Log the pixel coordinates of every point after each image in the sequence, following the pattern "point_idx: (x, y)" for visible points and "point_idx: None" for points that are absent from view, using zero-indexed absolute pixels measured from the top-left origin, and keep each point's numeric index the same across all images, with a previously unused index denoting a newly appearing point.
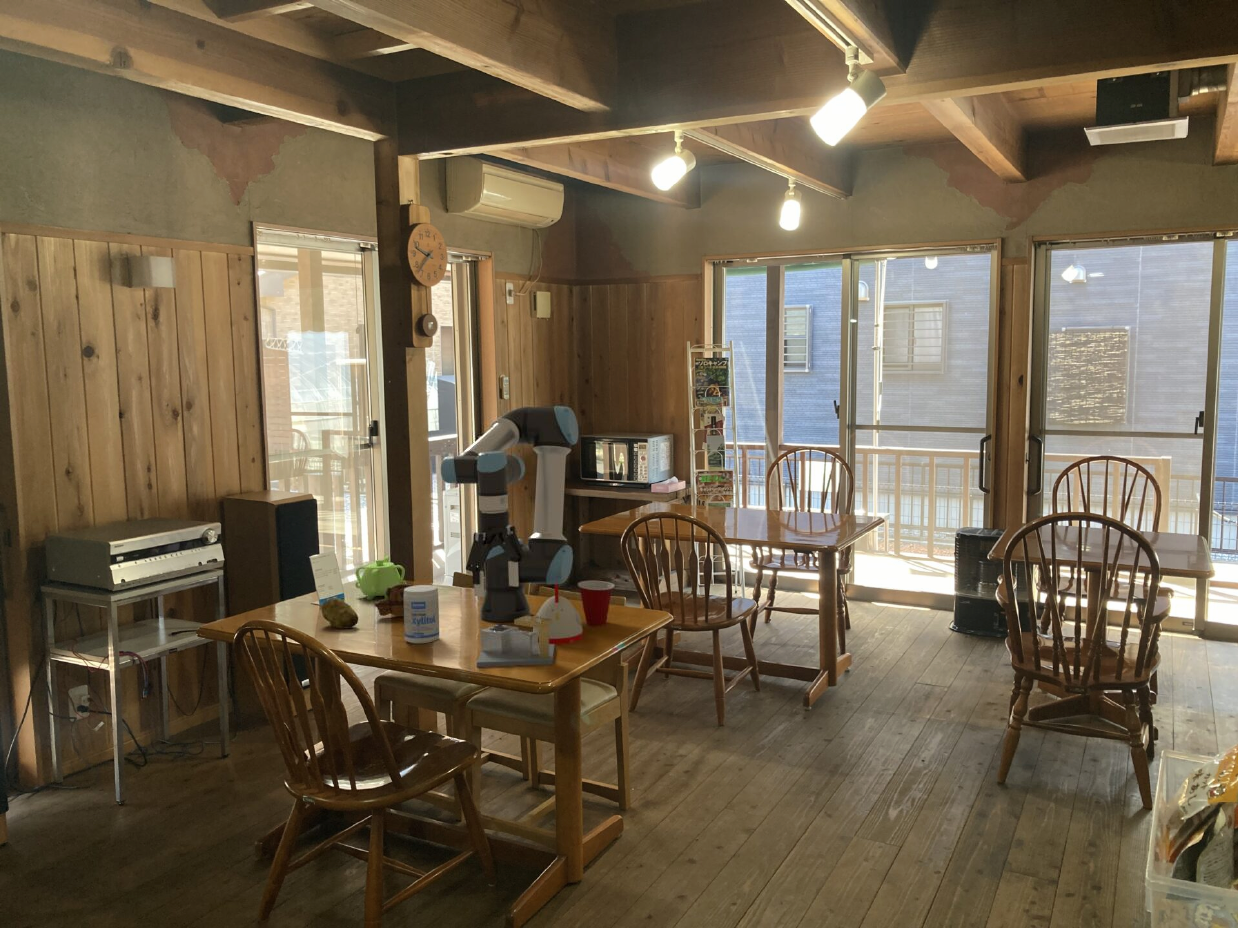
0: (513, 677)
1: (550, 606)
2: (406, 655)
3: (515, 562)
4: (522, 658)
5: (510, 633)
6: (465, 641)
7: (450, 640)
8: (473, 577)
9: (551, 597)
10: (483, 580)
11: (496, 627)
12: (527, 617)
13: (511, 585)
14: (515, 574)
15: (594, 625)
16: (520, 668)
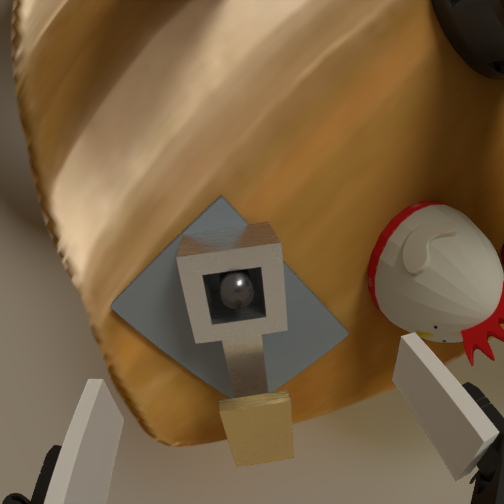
0: (135, 400)
1: (447, 321)
2: (56, 61)
3: (460, 476)
4: (210, 365)
5: (224, 352)
6: (259, 66)
7: (238, 21)
8: (42, 483)
9: (485, 307)
10: (106, 492)
11: (221, 298)
12: (267, 418)
13: (398, 351)
14: (423, 422)
15: (502, 258)
16: (180, 378)
